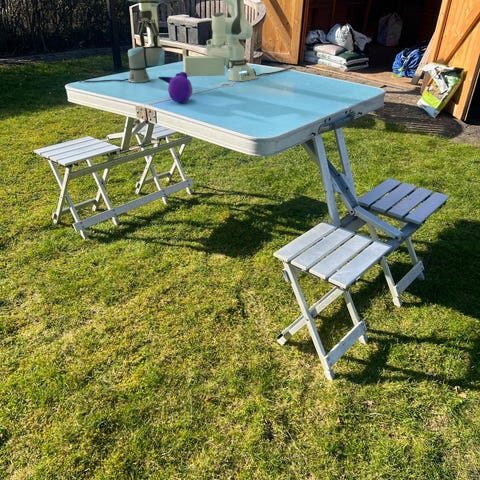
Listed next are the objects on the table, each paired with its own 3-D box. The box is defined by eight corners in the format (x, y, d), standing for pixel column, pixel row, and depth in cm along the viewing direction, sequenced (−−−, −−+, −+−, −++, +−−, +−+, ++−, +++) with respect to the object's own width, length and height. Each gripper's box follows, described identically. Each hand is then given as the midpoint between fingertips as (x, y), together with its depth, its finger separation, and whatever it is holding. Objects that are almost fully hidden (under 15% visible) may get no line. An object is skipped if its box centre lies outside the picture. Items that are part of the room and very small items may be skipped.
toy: (182, 94, 297) (192, 108, 276) (156, 89, 290) (164, 103, 269) (187, 69, 289) (197, 82, 268) (160, 64, 282) (169, 77, 261)
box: (185, 76, 284) (185, 57, 278) (183, 74, 289) (183, 56, 283) (224, 75, 291) (225, 57, 286) (222, 73, 296) (222, 55, 290)
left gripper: (162, 10, 274) (166, 48, 285) (138, 9, 289) (142, 45, 300) (153, 11, 270) (157, 49, 280) (128, 10, 284) (133, 46, 295)
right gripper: (235, 42, 279) (235, 65, 287) (211, 39, 291) (212, 62, 298) (228, 43, 275) (229, 67, 282) (204, 41, 287) (205, 64, 294)
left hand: (149, 47), depth 290 cm, fingers open, 13 cm apart
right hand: (220, 64), depth 290 cm, fingers closed on box, 8 cm apart
